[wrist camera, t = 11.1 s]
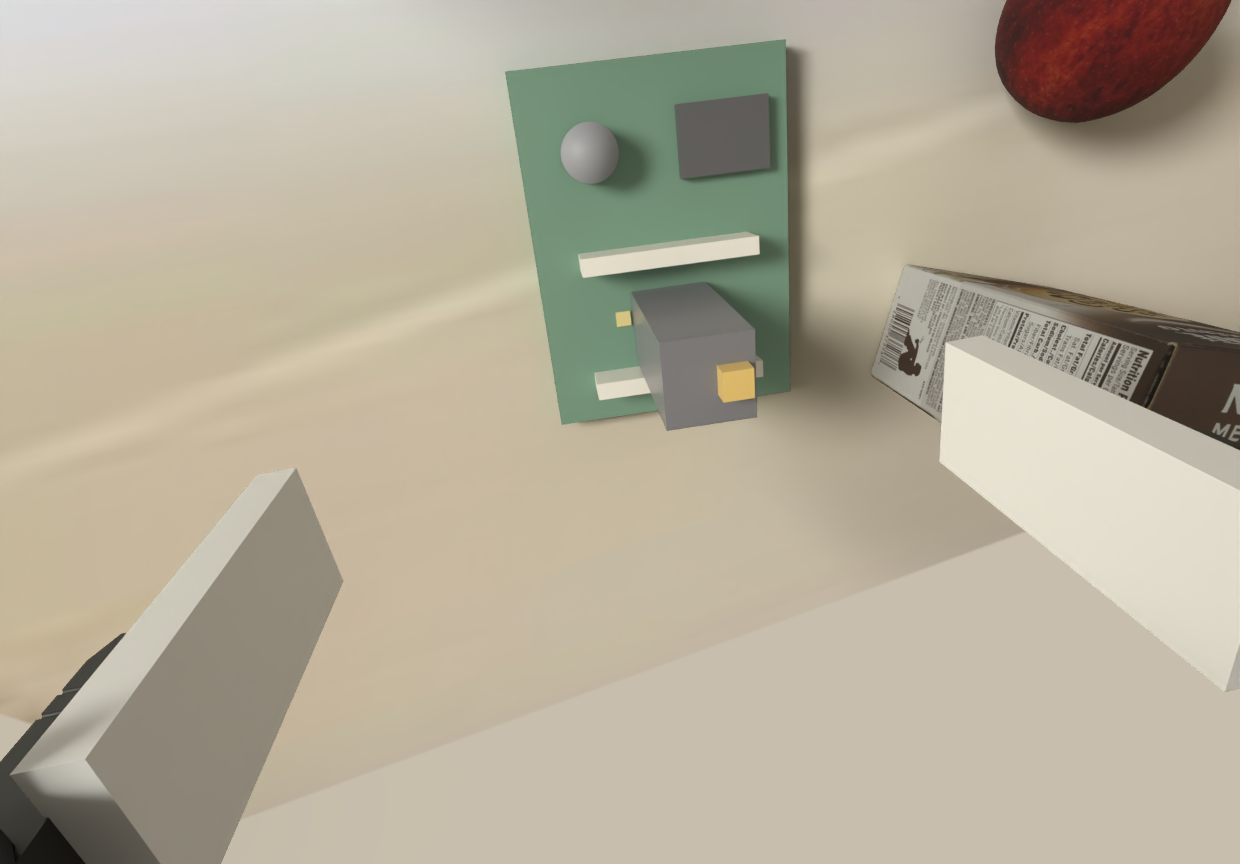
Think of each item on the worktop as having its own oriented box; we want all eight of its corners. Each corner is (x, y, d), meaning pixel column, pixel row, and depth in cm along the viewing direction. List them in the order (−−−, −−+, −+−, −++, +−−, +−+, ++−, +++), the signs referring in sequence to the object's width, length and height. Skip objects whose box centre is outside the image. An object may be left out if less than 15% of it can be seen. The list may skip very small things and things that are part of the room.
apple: (1149, -32, 30) (1348, -94, 23) (1062, 147, 33) (1215, 144, 25) (1013, -96, 28) (1179, -186, 21) (933, 98, 31) (1055, 78, 24)
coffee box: (1058, 284, 35) (1435, 375, 20) (1013, 397, 38) (1322, 553, 23) (901, 259, 34) (1185, 337, 19) (865, 378, 36) (1091, 532, 21)
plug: (630, 291, 31) (663, 349, 24) (704, 281, 32) (761, 335, 24) (638, 363, 33) (670, 439, 25) (708, 352, 33) (763, 425, 25)
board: (506, 75, 29) (502, 66, 26) (776, 43, 29) (801, 31, 27) (561, 416, 35) (562, 439, 32) (782, 383, 36) (803, 403, 33)
